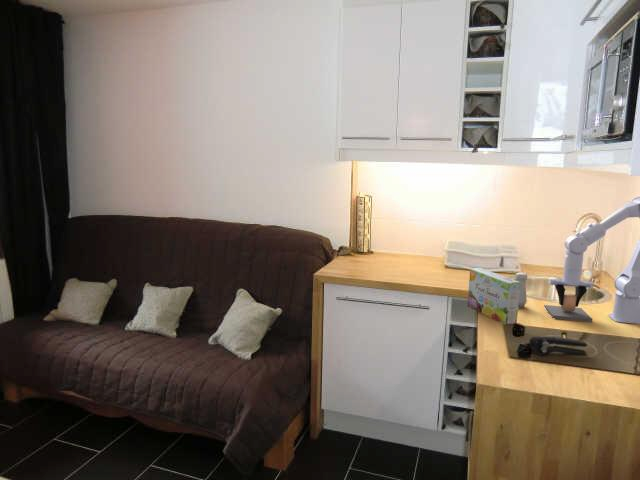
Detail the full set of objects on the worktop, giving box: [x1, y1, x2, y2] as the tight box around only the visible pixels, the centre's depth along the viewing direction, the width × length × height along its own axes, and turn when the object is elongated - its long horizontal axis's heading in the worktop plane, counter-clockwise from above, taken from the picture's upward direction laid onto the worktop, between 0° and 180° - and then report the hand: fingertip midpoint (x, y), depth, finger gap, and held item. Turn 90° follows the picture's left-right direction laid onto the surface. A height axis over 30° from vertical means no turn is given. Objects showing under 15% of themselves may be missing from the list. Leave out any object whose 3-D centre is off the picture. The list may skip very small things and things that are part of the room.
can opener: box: [523, 334, 588, 356], centre depth 145 cm, size 18×7×6 cm, turn 90°
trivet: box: [543, 304, 593, 323], centre depth 182 cm, size 13×13×1 cm
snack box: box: [467, 267, 520, 326], centre depth 178 cm, size 21×6×15 cm, turn 21°
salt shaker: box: [515, 272, 528, 309], centre depth 190 cm, size 6×6×13 cm
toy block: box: [560, 292, 577, 311], centre depth 181 cm, size 5×5×6 cm
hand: (568, 305), depth 181 cm, fingers closed on toy block, 4 cm apart
